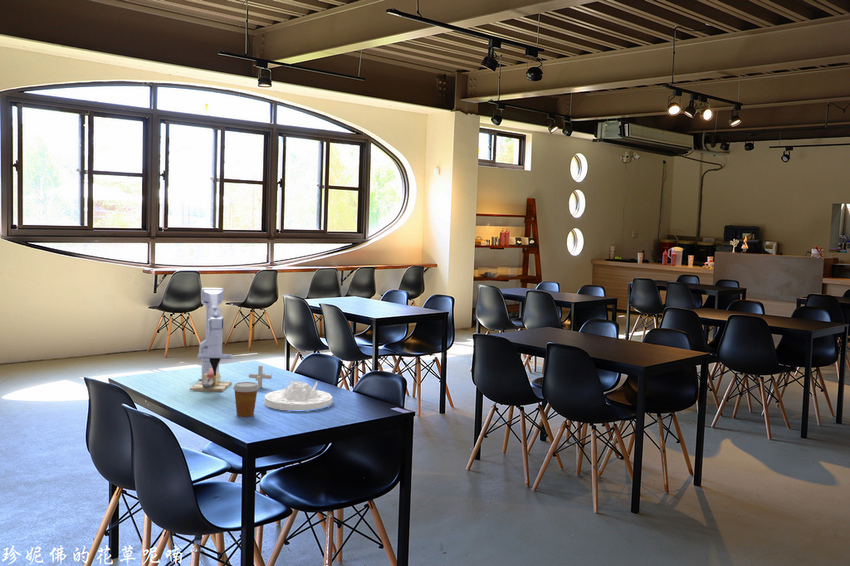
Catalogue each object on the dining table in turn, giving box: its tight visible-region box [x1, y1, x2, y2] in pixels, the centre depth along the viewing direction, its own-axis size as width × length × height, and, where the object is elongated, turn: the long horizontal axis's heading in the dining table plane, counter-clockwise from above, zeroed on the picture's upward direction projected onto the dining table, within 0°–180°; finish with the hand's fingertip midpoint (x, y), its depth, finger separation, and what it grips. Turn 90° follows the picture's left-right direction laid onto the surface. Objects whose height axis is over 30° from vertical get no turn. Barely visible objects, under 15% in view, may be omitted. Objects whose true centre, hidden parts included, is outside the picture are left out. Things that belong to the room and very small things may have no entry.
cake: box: [263, 378, 334, 411], centre depth 295 cm, size 28×28×10 cm
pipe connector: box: [248, 364, 273, 389], centre depth 321 cm, size 10×10×10 cm
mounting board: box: [189, 380, 232, 393], centre depth 317 cm, size 16×14×1 cm
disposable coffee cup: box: [232, 381, 260, 418], centre depth 273 cm, size 10×10×12 cm
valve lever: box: [207, 368, 214, 378], centre depth 311 cm, size 15×3×1 cm, turn 15°
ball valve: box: [202, 372, 221, 388], centre depth 317 cm, size 16×6×7 cm, turn 1°
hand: (214, 375), depth 310 cm, fingers closed
